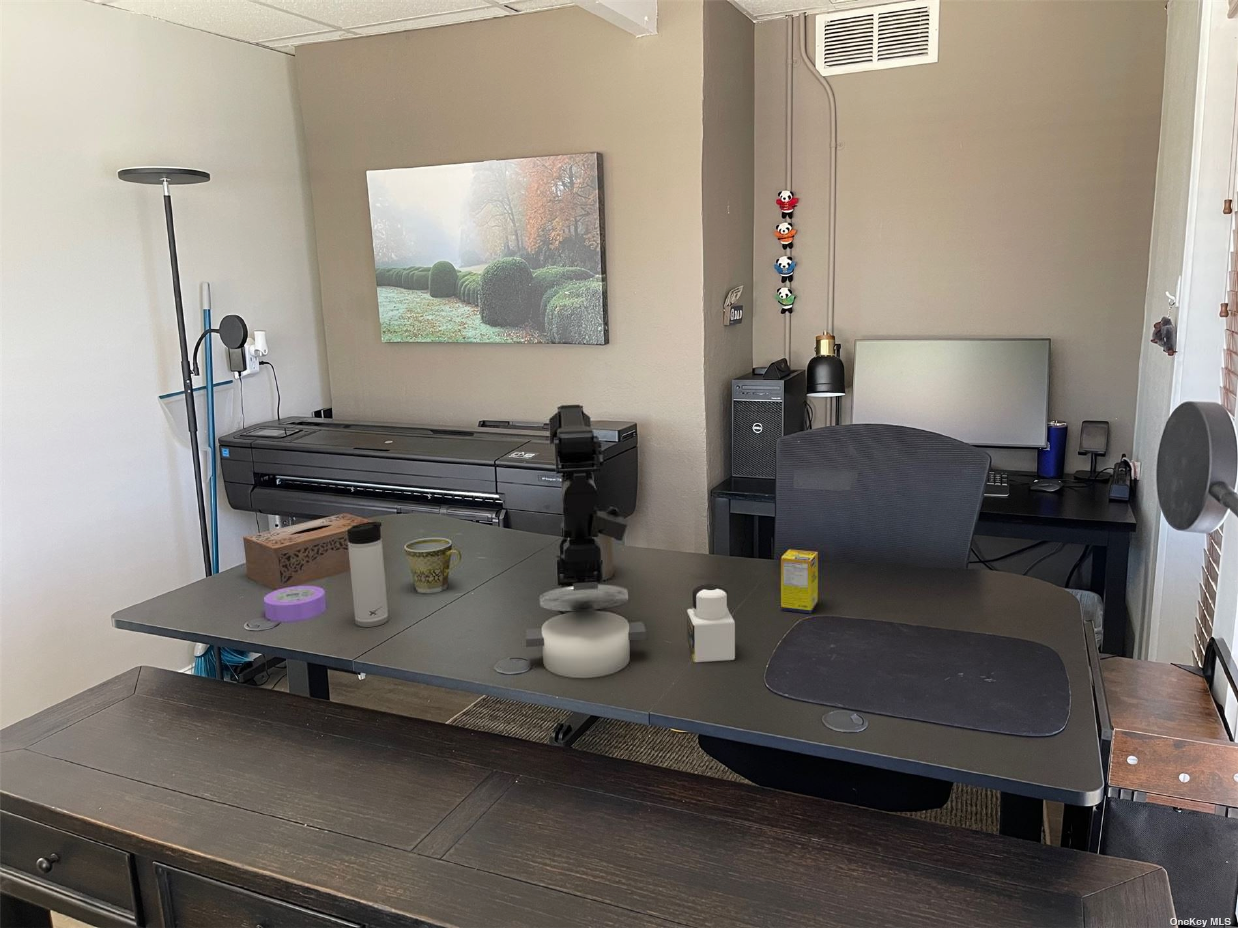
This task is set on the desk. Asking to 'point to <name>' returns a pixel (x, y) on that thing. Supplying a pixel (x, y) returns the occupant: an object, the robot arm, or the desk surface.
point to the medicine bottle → (710, 625)
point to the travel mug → (367, 574)
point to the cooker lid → (583, 597)
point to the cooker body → (585, 643)
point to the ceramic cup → (430, 563)
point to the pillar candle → (606, 555)
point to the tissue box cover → (300, 552)
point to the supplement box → (799, 581)
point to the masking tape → (294, 603)
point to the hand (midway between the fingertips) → (581, 584)
